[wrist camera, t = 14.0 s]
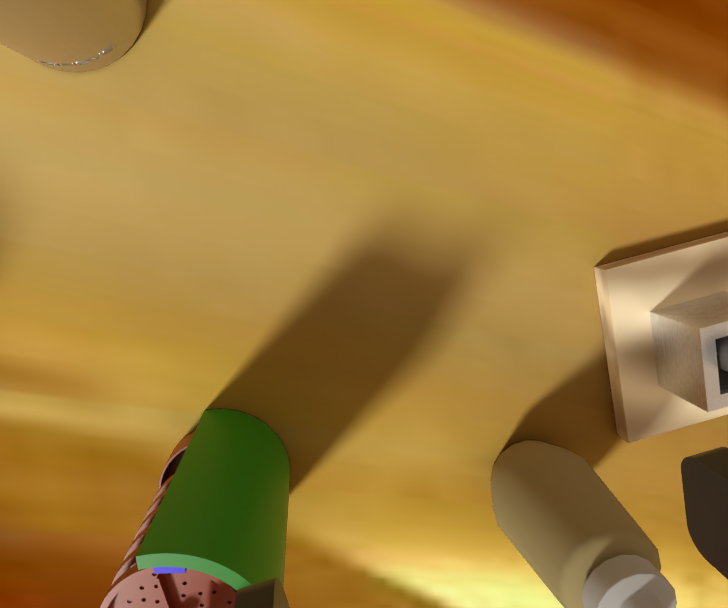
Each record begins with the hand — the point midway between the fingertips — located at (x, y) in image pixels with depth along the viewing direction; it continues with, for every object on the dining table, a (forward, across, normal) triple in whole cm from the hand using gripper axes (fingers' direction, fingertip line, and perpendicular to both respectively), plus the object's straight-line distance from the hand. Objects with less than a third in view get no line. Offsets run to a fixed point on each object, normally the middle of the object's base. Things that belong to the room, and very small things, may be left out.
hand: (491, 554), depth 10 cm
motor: (+28, +12, +11) cm, 33 cm away
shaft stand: (+28, -24, +10) cm, 38 cm away
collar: (+27, -24, +10) cm, 37 cm away
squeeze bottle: (+28, -10, +18) cm, 35 cm away
